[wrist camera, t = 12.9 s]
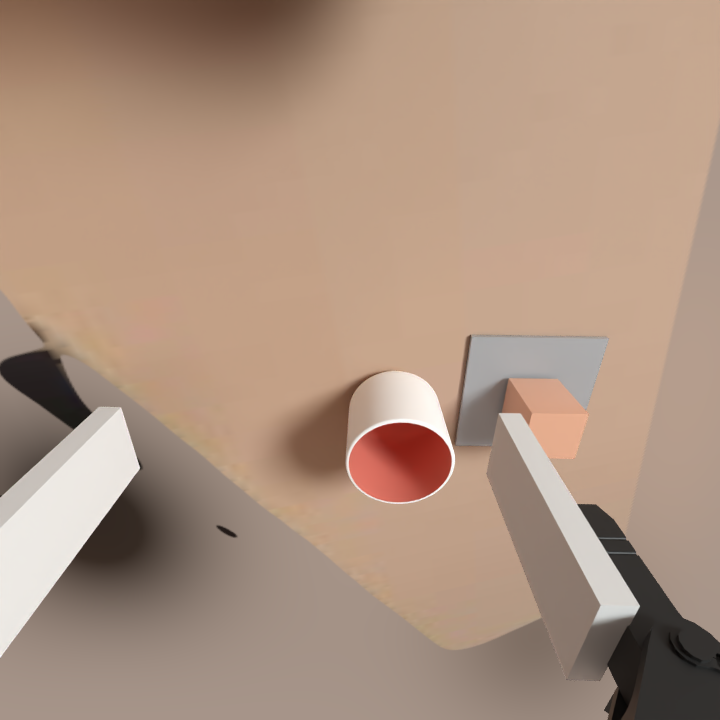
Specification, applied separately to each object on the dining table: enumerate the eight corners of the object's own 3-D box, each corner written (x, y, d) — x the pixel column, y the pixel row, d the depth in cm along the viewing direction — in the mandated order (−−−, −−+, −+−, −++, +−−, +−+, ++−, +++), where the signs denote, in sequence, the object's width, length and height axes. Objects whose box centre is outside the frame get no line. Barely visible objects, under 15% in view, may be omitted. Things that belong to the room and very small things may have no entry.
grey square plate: (470, 334, 41) (489, 366, 35) (606, 336, 41) (649, 368, 35) (454, 442, 47) (468, 485, 41) (572, 444, 47) (604, 487, 41)
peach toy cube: (508, 378, 42) (532, 413, 36) (557, 378, 42) (589, 414, 36) (500, 418, 44) (521, 457, 39) (546, 419, 44) (574, 458, 38)
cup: (448, 375, 43) (470, 431, 34) (423, 446, 48) (436, 512, 39) (359, 357, 42) (358, 410, 33) (341, 431, 47) (336, 495, 38)
